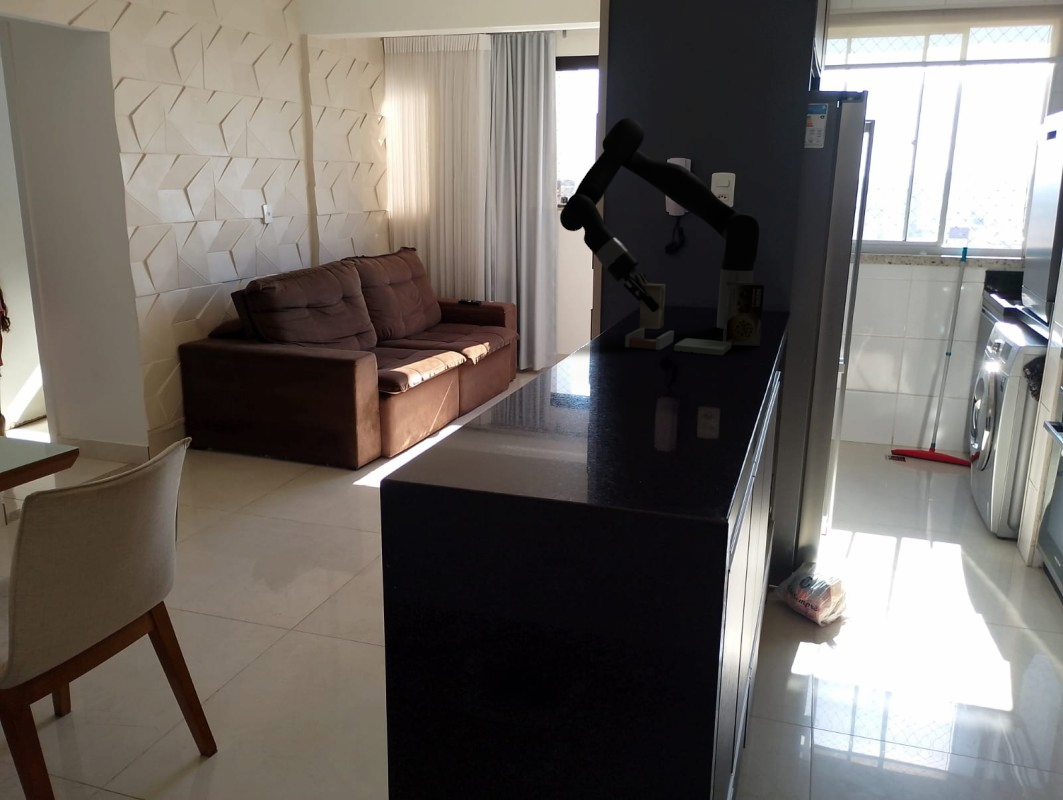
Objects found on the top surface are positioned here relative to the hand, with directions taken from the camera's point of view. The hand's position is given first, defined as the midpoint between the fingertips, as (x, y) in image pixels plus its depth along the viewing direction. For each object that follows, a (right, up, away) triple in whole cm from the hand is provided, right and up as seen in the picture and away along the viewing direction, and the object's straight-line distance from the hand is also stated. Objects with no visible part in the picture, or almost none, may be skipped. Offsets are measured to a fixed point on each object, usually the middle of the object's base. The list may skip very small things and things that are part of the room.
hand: (659, 308), depth 224 cm
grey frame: (-2, -9, +1) cm, 10 cm away
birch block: (-2, -5, +2) cm, 5 cm away
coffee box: (+22, -9, +5) cm, 25 cm away
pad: (+10, -11, -4) cm, 16 cm away
